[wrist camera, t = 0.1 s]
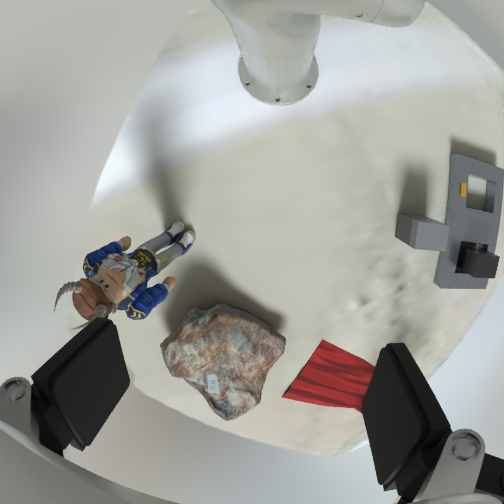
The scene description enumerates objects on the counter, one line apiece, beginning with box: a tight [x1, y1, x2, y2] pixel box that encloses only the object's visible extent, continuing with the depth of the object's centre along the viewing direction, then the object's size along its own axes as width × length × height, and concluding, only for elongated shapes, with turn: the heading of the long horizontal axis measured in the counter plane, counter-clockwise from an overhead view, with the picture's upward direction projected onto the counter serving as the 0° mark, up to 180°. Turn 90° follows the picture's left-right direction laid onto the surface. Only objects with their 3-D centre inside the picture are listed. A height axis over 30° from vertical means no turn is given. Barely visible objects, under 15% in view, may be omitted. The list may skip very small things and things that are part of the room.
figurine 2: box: [282, 340, 375, 413], centre depth 40 cm, size 17×24×25 cm
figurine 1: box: [55, 221, 196, 330], centre depth 32 cm, size 10×6×30 cm, turn 49°
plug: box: [395, 213, 450, 251], centre depth 38 cm, size 4×6×8 cm, turn 88°
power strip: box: [434, 154, 504, 289], centre depth 36 cm, size 24×13×8 cm, turn 178°
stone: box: [160, 304, 286, 421], centre depth 47 cm, size 23×23×10 cm
